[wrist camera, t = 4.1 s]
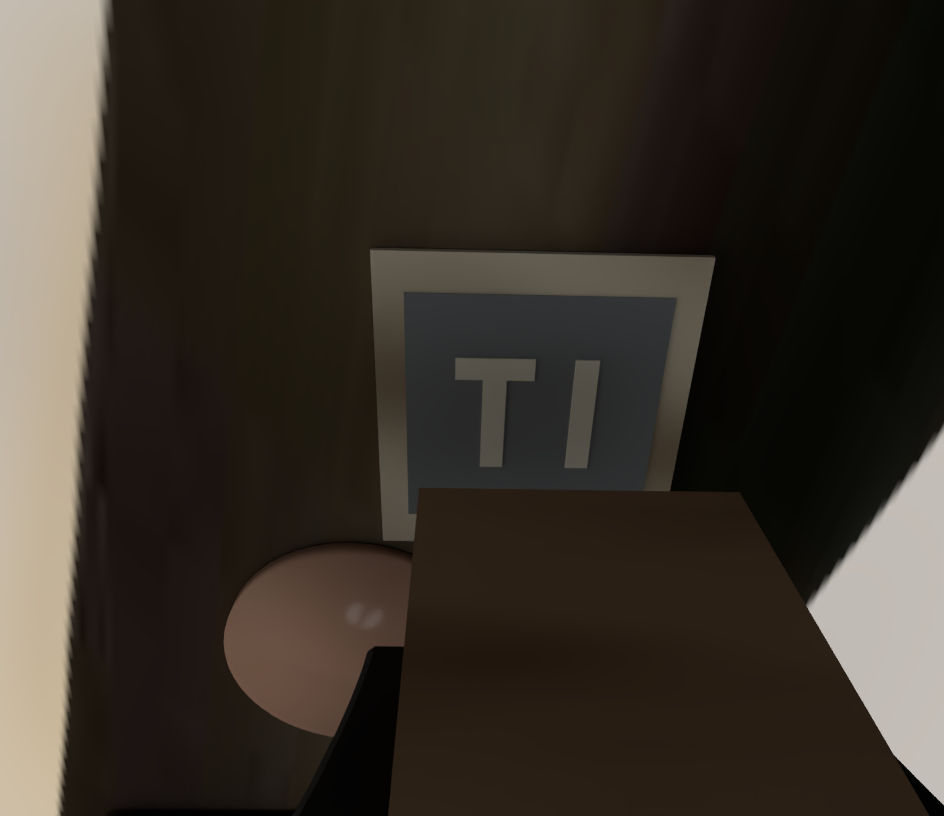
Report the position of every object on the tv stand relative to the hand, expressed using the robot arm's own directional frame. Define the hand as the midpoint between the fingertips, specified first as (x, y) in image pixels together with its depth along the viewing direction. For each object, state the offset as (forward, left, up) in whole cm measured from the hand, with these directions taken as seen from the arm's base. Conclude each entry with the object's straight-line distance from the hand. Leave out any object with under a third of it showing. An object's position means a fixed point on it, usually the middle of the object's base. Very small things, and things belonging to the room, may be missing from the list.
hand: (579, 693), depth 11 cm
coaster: (-8, +5, -9) cm, 13 cm away
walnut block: (0, 0, -2) cm, 2 cm away
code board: (0, 0, -9) cm, 9 cm away
